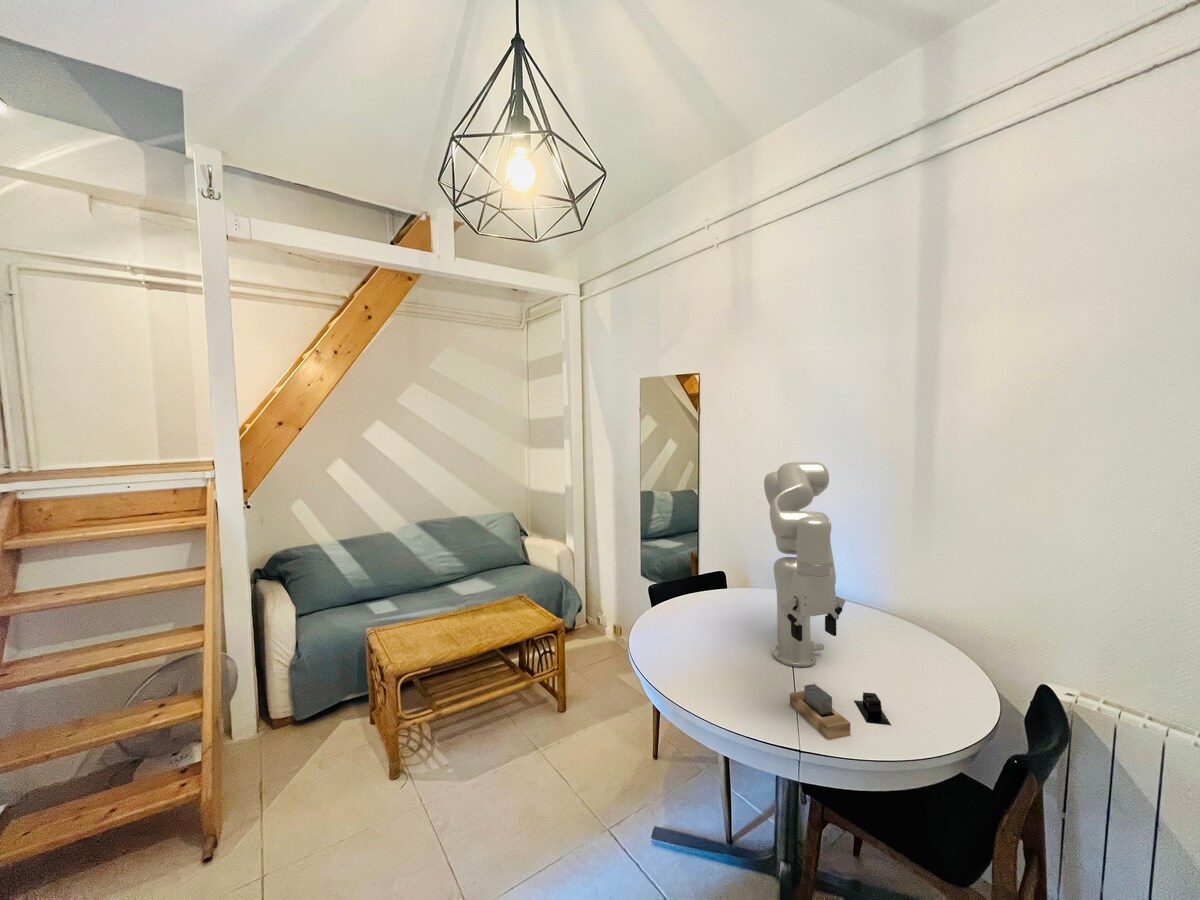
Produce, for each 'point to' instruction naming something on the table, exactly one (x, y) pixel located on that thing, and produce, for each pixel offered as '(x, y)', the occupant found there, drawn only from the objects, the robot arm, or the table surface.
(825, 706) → the clip
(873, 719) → the black stepped block
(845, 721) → the slotted wooden block
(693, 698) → the table surface
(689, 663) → the table surface
